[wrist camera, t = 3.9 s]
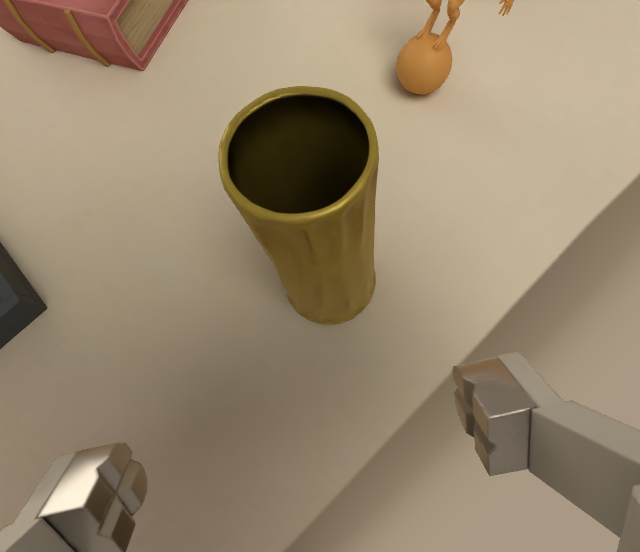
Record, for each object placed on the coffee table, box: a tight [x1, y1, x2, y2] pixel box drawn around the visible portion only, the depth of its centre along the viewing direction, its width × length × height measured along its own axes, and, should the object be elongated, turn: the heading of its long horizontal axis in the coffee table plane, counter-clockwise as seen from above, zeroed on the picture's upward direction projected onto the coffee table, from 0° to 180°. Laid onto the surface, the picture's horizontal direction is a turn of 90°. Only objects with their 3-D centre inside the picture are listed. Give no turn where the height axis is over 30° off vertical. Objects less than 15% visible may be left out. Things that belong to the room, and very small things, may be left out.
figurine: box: [397, 0, 514, 94], centre depth 24 cm, size 8×6×12 cm
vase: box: [219, 86, 379, 324], centre depth 19 cm, size 6×6×14 cm
